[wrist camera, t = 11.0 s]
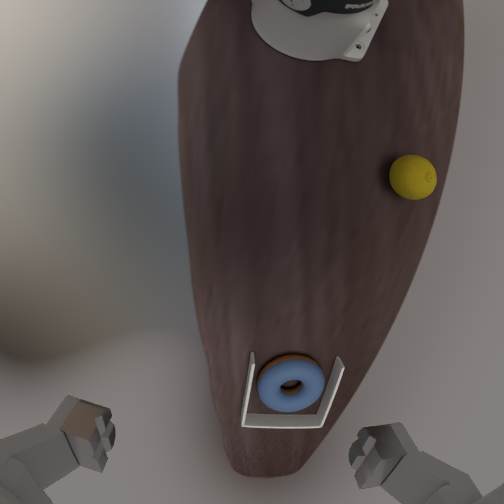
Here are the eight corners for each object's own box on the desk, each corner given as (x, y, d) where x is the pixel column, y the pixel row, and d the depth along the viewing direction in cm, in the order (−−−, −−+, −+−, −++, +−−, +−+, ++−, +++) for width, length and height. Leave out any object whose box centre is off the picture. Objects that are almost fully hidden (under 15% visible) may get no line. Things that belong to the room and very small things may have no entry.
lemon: (371, 175, 34) (403, 174, 27) (395, 148, 34) (429, 143, 26) (396, 205, 36) (430, 212, 28) (418, 178, 35) (454, 180, 27)
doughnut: (283, 411, 42) (288, 428, 38) (241, 377, 41) (243, 394, 36) (331, 374, 42) (340, 389, 38) (292, 335, 41) (300, 349, 36)
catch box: (251, 352, 40) (251, 364, 37) (338, 356, 40) (344, 367, 37) (240, 414, 42) (241, 426, 39) (318, 415, 43) (321, 427, 40)
